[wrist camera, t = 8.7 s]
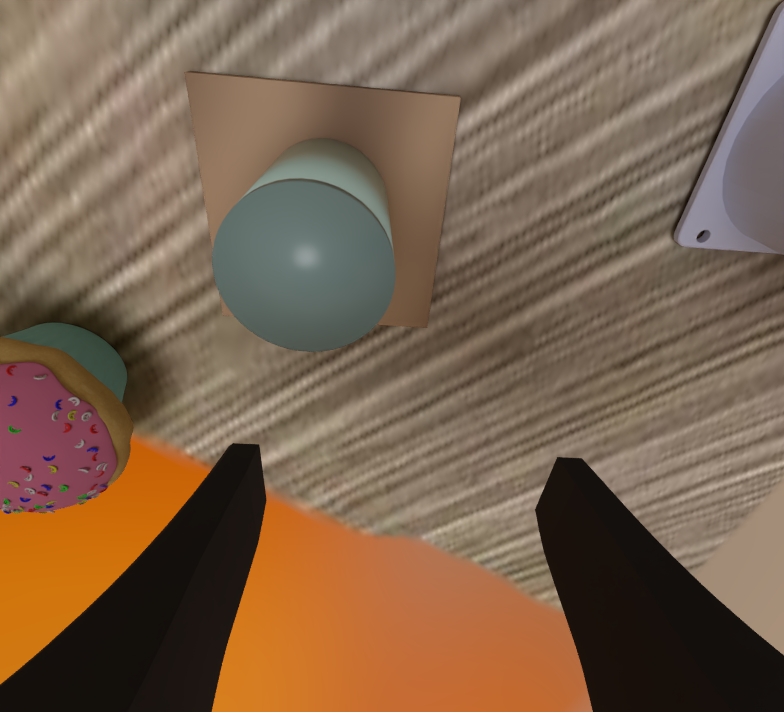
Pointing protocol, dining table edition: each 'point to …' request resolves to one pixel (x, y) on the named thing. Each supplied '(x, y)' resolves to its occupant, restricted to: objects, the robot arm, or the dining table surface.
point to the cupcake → (60, 418)
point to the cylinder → (309, 249)
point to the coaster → (344, 123)
